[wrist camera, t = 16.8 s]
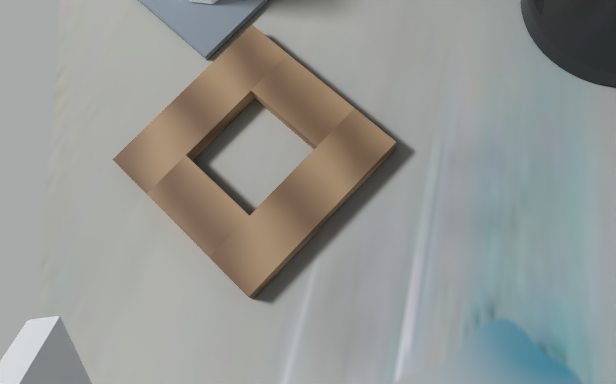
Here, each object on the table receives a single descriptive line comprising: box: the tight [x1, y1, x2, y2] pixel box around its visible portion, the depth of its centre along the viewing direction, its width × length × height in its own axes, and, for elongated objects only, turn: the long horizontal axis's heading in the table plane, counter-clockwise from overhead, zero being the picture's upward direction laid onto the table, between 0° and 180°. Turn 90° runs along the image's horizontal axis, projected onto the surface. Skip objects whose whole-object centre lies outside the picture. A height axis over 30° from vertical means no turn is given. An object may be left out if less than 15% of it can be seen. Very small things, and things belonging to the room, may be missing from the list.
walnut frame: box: [113, 25, 396, 299], centre depth 46 cm, size 16×16×2 cm
